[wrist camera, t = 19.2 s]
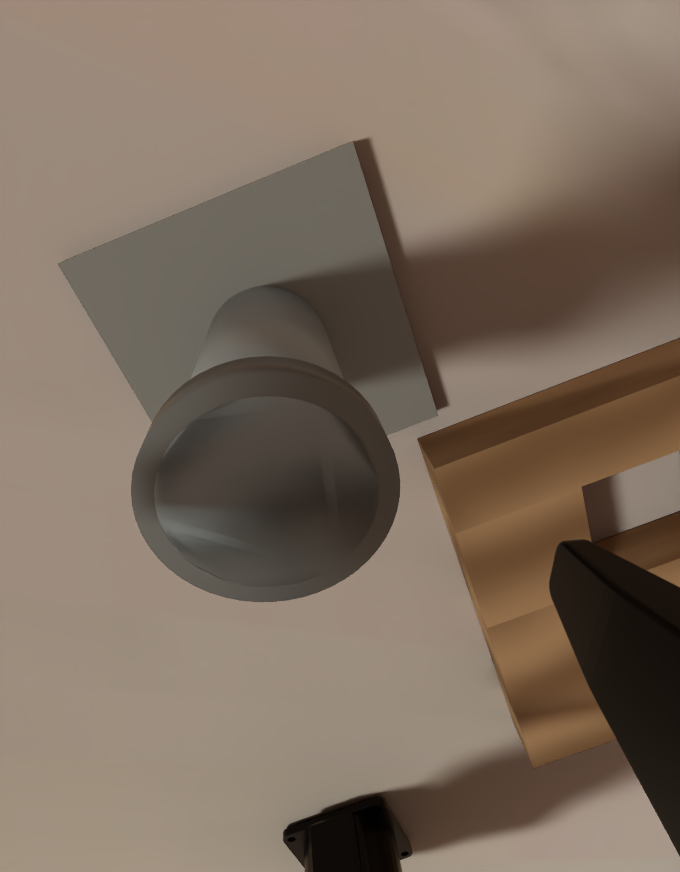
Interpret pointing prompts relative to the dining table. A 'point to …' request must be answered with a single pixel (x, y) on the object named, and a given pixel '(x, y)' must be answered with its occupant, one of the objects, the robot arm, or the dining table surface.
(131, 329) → the rubber mat
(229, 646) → the dining table surface
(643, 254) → the dining table surface
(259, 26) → the dining table surface
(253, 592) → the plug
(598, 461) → the socket base
